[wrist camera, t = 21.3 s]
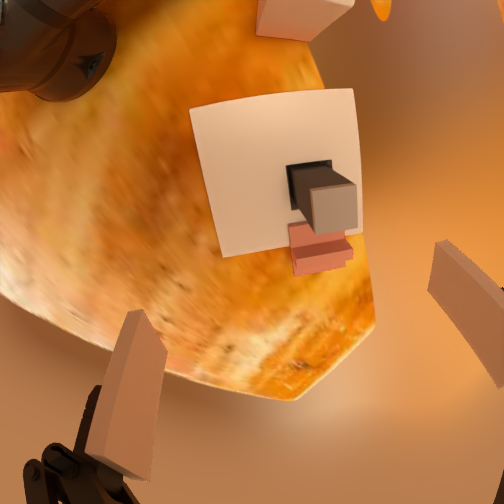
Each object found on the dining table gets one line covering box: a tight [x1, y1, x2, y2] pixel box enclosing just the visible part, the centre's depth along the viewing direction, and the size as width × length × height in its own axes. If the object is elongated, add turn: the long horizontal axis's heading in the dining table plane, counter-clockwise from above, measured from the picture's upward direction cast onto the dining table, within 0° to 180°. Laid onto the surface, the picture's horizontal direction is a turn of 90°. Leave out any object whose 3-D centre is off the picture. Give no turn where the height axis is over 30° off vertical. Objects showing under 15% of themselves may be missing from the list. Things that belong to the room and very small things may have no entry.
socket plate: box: [189, 89, 363, 258], centre depth 35 cm, size 20×20×4 cm
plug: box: [287, 162, 358, 235], centre depth 31 cm, size 4×4×13 cm
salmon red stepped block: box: [288, 221, 353, 276], centre depth 36 cm, size 8×8×4 cm
